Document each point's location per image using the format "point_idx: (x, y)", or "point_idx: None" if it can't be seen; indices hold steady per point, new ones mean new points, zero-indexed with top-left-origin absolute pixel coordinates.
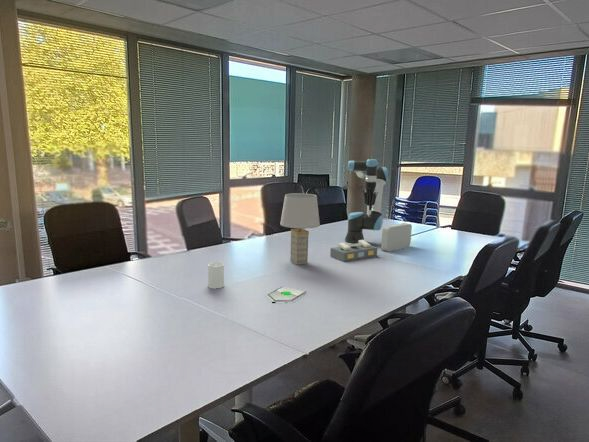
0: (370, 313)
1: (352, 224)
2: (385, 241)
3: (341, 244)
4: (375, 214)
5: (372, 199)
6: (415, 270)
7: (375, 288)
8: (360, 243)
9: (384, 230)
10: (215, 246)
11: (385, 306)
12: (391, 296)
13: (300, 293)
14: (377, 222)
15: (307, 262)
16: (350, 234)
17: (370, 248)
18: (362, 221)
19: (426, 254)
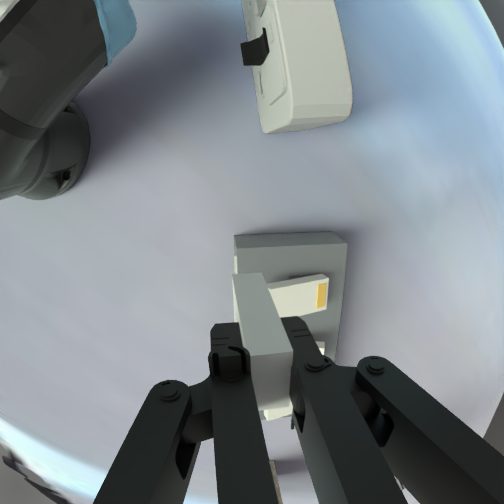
0: (484, 424)
1: (3, 194)
2: (303, 128)
3: (282, 413)
4: (46, 12)
5: (422, 482)
6: (489, 237)
7: (468, 393)
8: (324, 347)
9: (309, 122)
10: (74, 501)
11: (493, 404)
12: (493, 384)
13: (398, 483)
14: (116, 35)
15: (273, 462)
16: (35, 191)
17: (340, 287)
18: (25, 137)
19: (401, 19)
